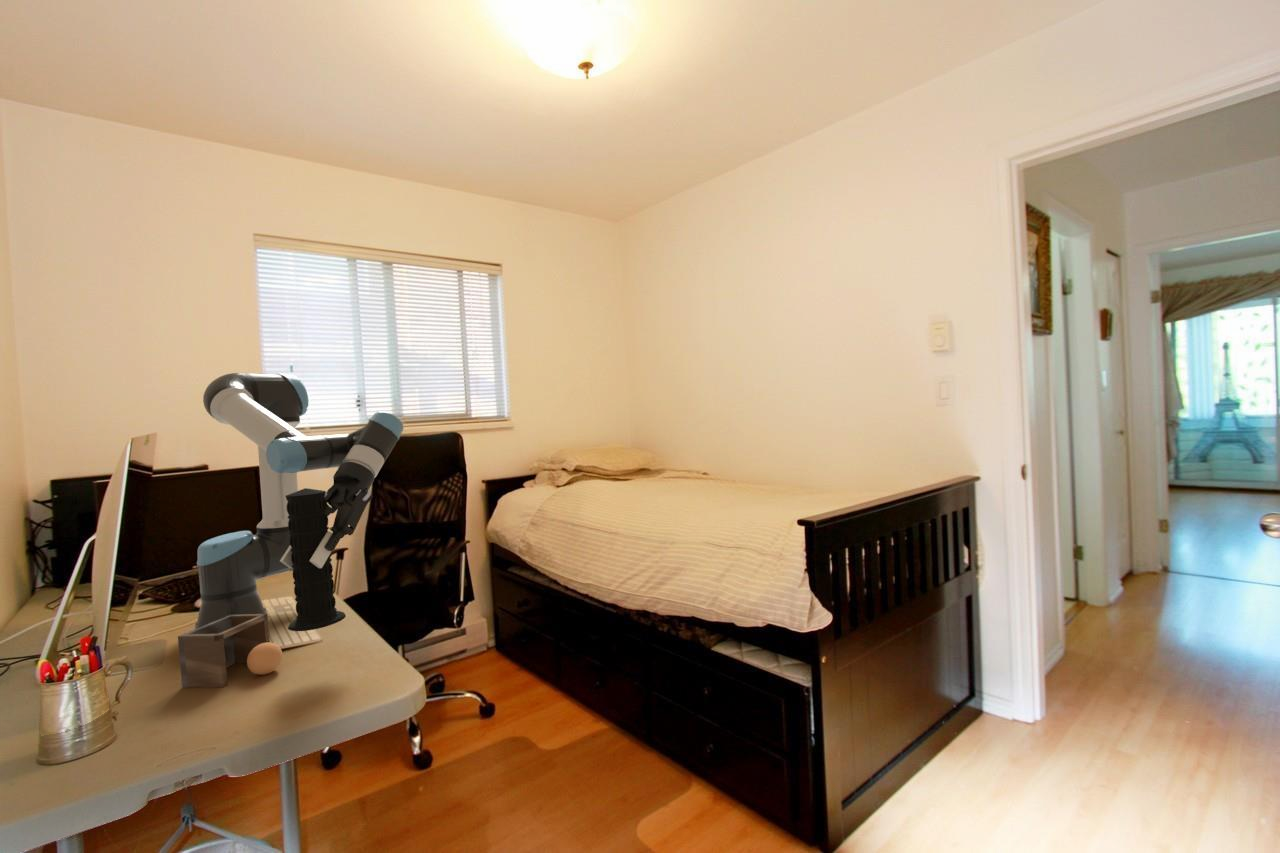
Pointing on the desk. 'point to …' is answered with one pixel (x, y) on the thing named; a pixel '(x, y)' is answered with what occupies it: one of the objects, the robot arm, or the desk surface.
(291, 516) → the handle grip
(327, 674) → the desk surface
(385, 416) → the robot arm
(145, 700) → the desk surface
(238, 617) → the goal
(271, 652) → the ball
